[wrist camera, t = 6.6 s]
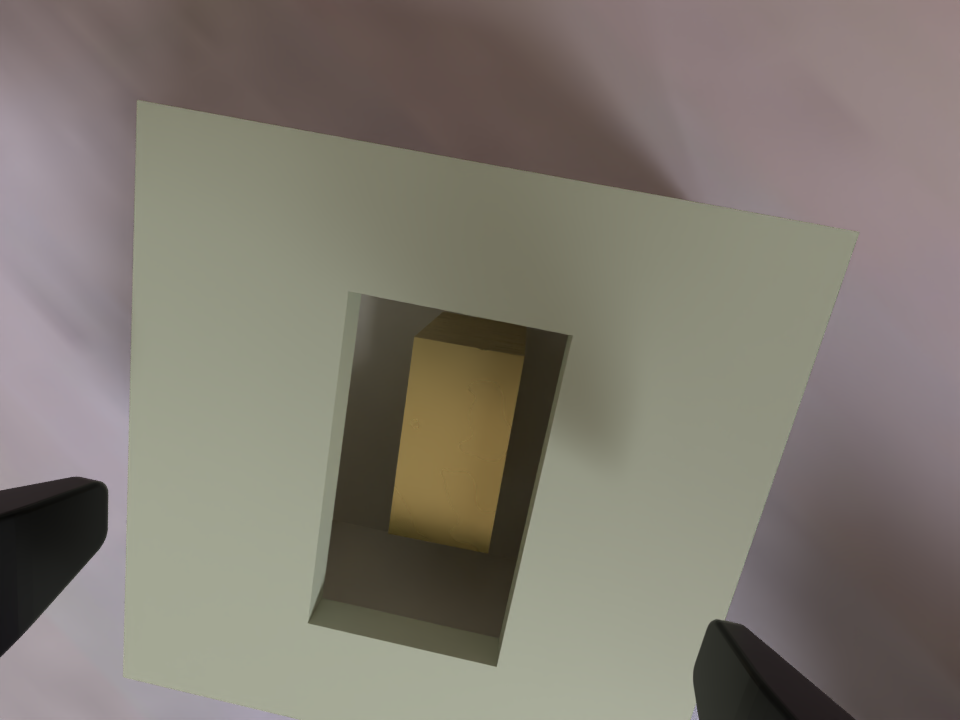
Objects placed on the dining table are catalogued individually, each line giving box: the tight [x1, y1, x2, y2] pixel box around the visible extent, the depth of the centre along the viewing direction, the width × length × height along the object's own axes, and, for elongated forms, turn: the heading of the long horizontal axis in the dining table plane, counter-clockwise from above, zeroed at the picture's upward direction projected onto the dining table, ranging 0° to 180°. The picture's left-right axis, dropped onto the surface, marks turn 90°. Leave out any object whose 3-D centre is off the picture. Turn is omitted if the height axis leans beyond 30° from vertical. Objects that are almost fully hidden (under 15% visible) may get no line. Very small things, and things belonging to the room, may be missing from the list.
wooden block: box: [388, 312, 527, 554], centre depth 15 cm, size 2×5×4 cm, turn 171°
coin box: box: [123, 100, 859, 720], centre depth 14 cm, size 12×12×7 cm
